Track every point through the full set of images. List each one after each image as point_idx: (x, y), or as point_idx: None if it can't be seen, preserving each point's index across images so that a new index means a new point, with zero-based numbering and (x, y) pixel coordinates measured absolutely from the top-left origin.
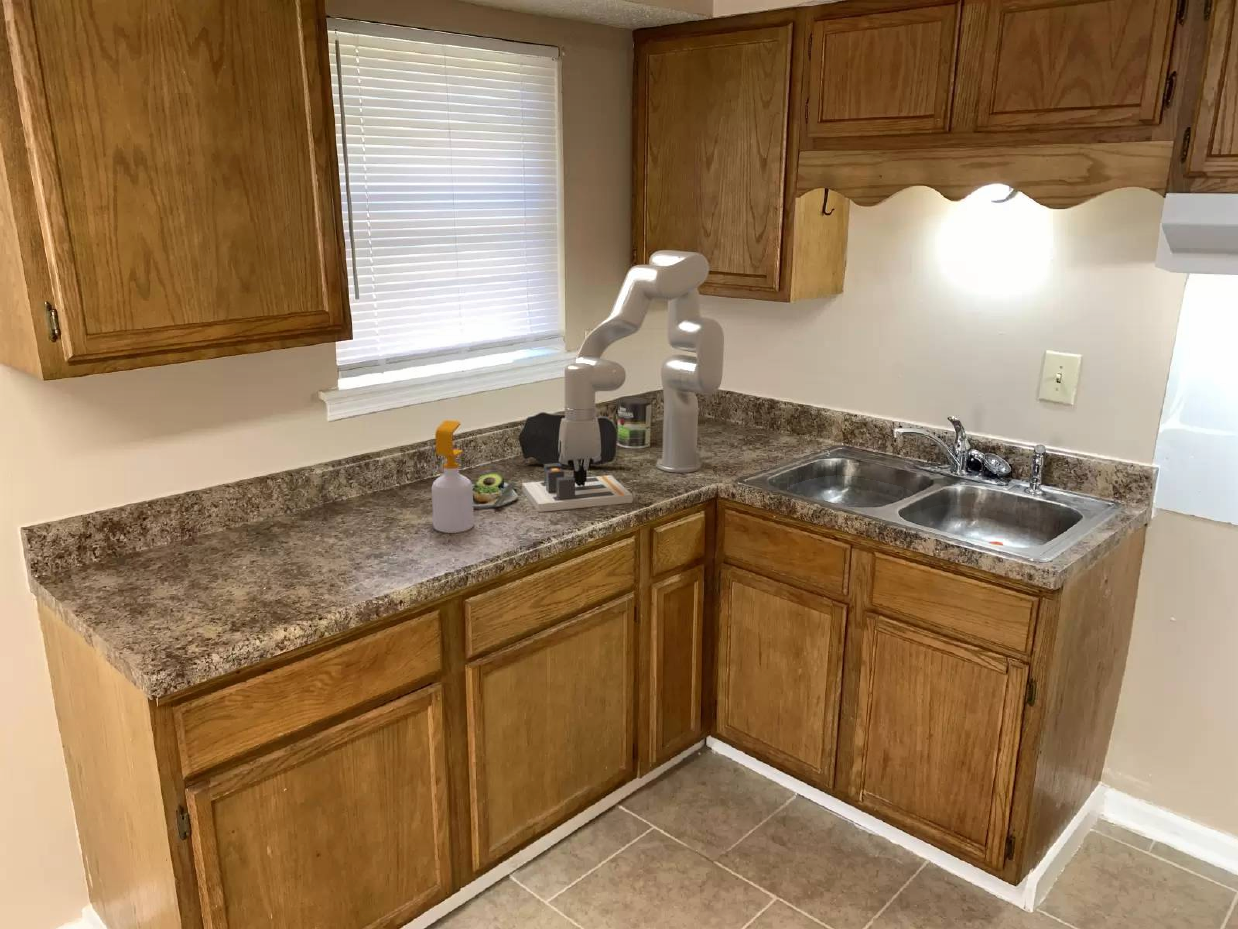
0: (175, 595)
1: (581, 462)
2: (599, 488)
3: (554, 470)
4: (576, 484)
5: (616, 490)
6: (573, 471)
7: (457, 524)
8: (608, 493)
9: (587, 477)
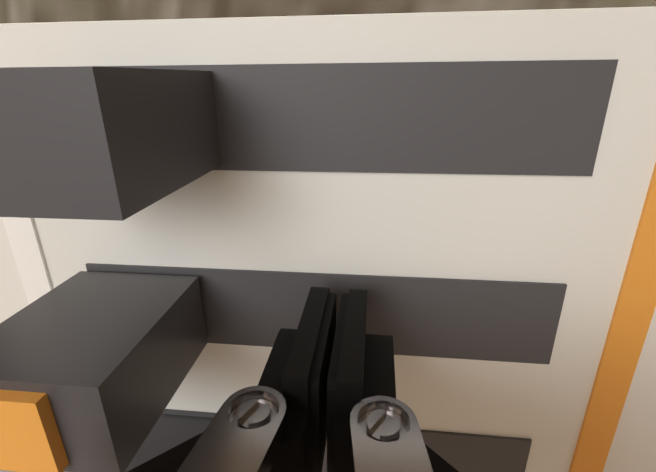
0: None
1: (353, 467)
2: (487, 359)
3: (9, 464)
4: (346, 208)
5: (584, 443)
6: (258, 384)
7: None
8: (496, 468)
9: (536, 16)
